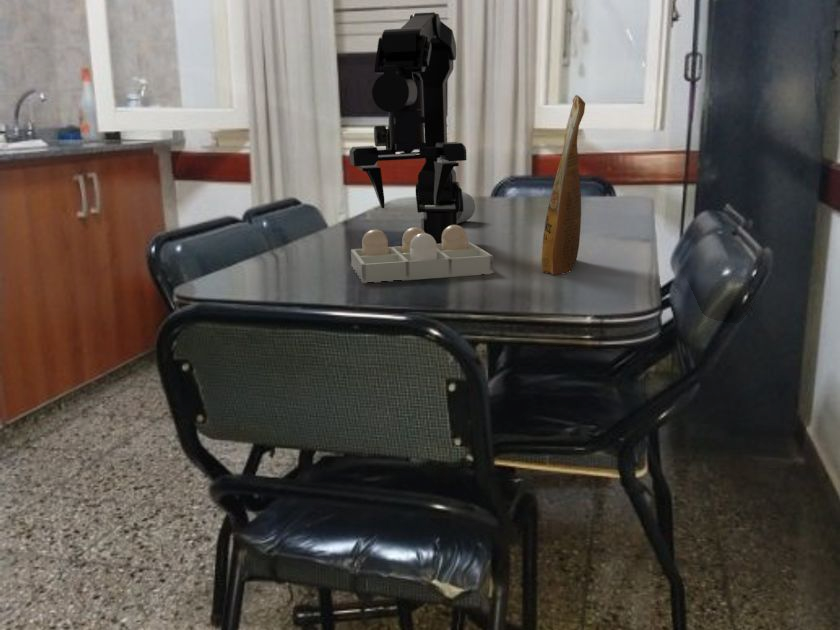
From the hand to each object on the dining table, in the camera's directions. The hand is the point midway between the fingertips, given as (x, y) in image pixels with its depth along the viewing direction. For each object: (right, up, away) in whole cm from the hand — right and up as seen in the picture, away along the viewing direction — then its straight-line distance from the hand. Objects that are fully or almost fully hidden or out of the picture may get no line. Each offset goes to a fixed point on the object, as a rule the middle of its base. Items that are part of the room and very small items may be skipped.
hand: (409, 206), depth 132 cm
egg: (+2, -11, -2) cm, 11 cm away
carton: (+2, -11, +2) cm, 11 cm away
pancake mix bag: (+26, -10, +1) cm, 28 cm away
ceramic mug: (+9, +3, +55) cm, 56 cm away
